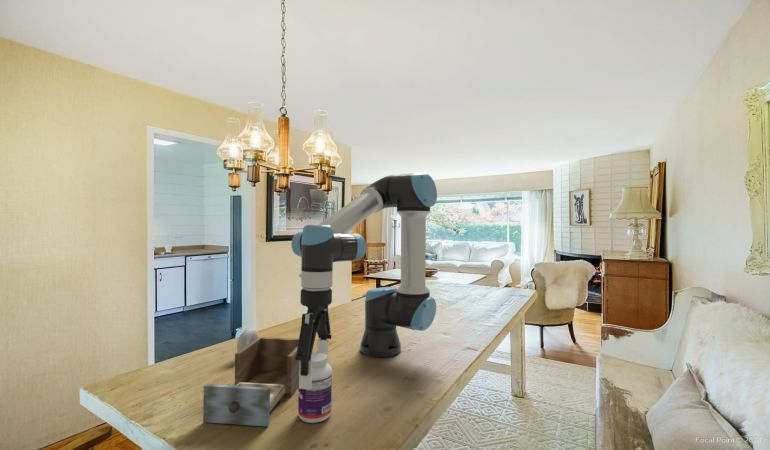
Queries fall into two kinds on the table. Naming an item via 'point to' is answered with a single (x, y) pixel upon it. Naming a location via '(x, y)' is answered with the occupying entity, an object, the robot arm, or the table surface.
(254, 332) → the donut
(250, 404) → the grey drawer
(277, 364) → the wooden drawer box
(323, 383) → the pill bottle
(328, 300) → the robot arm
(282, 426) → the table surface
